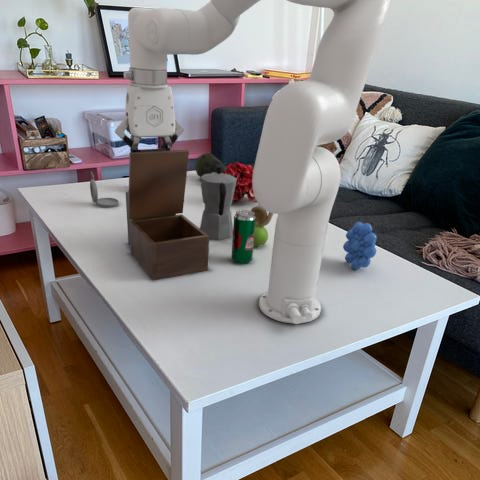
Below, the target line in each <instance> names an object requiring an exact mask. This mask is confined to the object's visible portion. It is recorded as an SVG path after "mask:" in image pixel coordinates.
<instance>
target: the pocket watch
mask: <svg viewBox="0 0 480 480" xmlns="http://www.w3.org/2000/svg"><path fill="white" fill-rule="evenodd" d="M90 174H91V179H90V180H89V188H90V189H89V190H90V196H91V201H92V202H93V203H94V204H95V205H96V206H99V207H102V208H112V207H115V206H118V205H119V200H118V199H117V198H115V197H100V198H99V193H98V186H97V182H96V180H95V175H94V173H93V172H92V171H91V170H90Z"/></svg>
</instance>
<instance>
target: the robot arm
mask: <svg viewBox="0 0 480 480" xmlns="http://www.w3.org/2000/svg"><path fill="white" fill-rule="evenodd" d="M286 1H287V2H289V3H293V4H297V5H300V6H309V7H316V8H323V9H324V8H326V9H330V10H331V11H332V13H333V16H332V19H331V21H330V23H328V25H327V27H326V29H325V30H324V32H323V34H322V35H321V39H320V41H319V43H318V46H317V48H316V49H317V50H316V53H315V57H314V61H313V65H312V67H311V71H310V73H309V77H308V78H307V80H296V81H293V82H290V83H287V84H286V85H284V86H282V88H280V89H279V90H278V92H276V94H275V95H274V97H272V100H271V101H270V104H269V105H268V108H267V111H266V114H265V117H264V121H263V126H262V131H261V136H260V139H259V143H258V148H257V152H256V156H255V161H254V166H253V169H254V171H253V179H252V186H253V192H254V196H255V198H256V203H257V204H258V206H261V207H262V208H263V209H264V210H266V212H267V213H269V212H270V213H273V215H274V214H275V215H277V217H276V221H275V226H274V234H273V244H272V253H271V260H270V261H271V262H270V270H269V279H268V288H267V290H268V291H266V292H264V293H263V294H261V296H260V297H259V301H258V307H259V309H260V311H261V313H262V314H264V315H266V316H267V317H268V318H271V320H275V321H278V322H282V323H286V324H287V323H288V324H294V325H299V324H304V323H309V322H312V321H314V320H316V319H317V318H318V317H320V315H321V311H322V304H321V302H320V301H319V300H318V298H317V297H316V295H317V289H318V284H319V277H320V272H321V267H322V260H323V254H324V248H325V243H326V238H327V233H328V227H329V222H330V218H331V214H332V209H333V206H334V203H335V201H336V198H337V195H338V192H339V188H340V184H341V177H342V176H341V175H342V174H341V167H340V163H339V161H338V159H337V157H336V156H335V155H334V153H332V152H331V151H330V150H329V149H328V148H325V147H323V146H322V145H326V144H330V143H334V142H336V141H338V140H341V139H342V138H343V137H344V136H346V135H347V133H348V132H349V130H350V129H351V127H352V124H353V122H354V119H355V116H356V113H357V110H358V106H359V103H360V101H361V97H362V94H363V91H364V89H365V86H366V82H367V79H368V77H369V73H370V69H371V66H372V64H373V63H372V62H373V60H374V57H375V54H376V52H377V48H378V46H379V44H380V40H381V38H382V35H383V33H384V30H385V26H386V23H387V20H388V16H389V13H390V8H391V0H286ZM259 2H261V0H209V1H208V2H207V3H206V4H205V5H203V6H202V7H201V8H199V9H197V10H190V9H182V8H170V7H169V8H168V7H167V8H166V7H159V8H149V7H132V8H131V9H130V10H128V15H127V19H128V20H127V23H128V25H127V26H128V27H127V28H128V50H129V67H128V70H127V71H123V78H124V79H125V80H129V83H128V84H127V89H126V96H125V111H124V115H125V116H124V118H123V119H122V121H121V122H120V123H119V124H118V126H116V127H115V129H114V134H116V135H117V136H118V137H119V138H120V139H121V140H122V141H123V142H124V143H125V144H126V145H127V146H128V147H129V149H130V152H129V154H130V153H134V152H140V150H141V149H139V144H140V141H141V140H142V139H141V138H160V140H161V142H162V145H160V149H162V148H165V149H166V151H171V148H173V146H174V144H175V142H177V140H178V138H179V137H180V136H181V135H182V134H183V133H184V128H183V127H182V125H181V124H179V122H178V121H177V119H176V112H175V104H174V96H173V90H172V86H170V85H168V55H171V56H172V55H174V56H175V55H177V56H178V55H192V56H194V55H195V56H196V55H202V54H203V55H204V54H205V53H207V52H208V53H209V51H212V50H213V49H214V48H216V47H217V46H219V45H220V44H222V43H223V42H225V41H226V40H227V39H228V38H230V37H231V36H232V34H234V31H235V29H236V28H237V26H238V23H239V21H240V18H241V15H242V14H244V13H245V12H246V11H248V10H249V9H250V8H252V7H253V6H254V5H257V3H259ZM125 131H126V132H127V133H130V136H128V135H127V134H126V132H125Z"/></svg>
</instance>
